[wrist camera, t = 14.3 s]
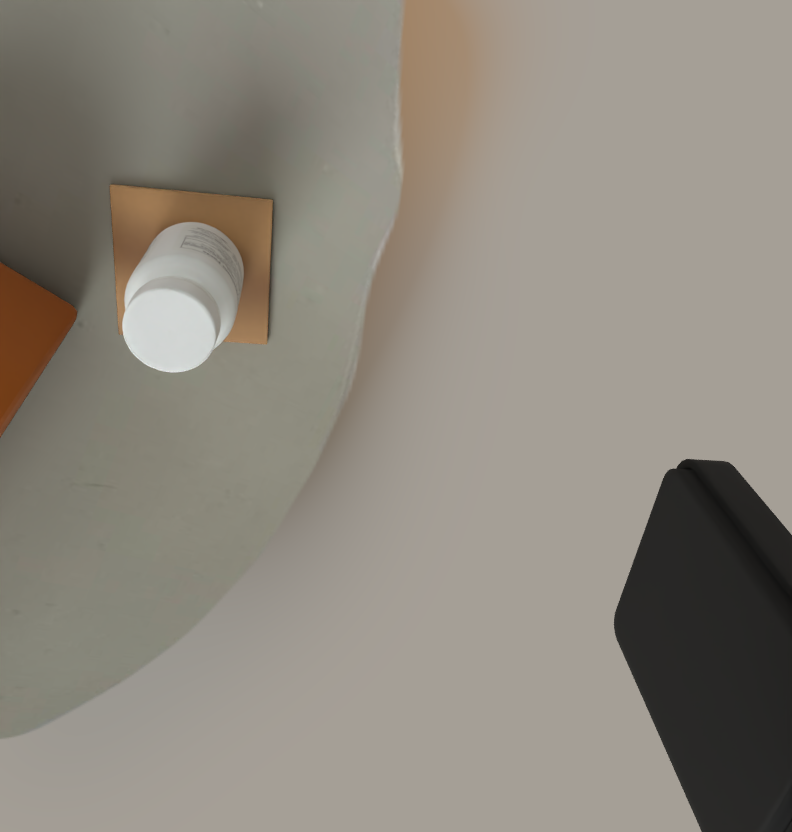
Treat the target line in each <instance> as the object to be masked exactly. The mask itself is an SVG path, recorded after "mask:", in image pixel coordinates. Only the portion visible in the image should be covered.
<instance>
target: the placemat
mask: <svg viewBox="0 0 792 832" xmlns="http://www.w3.org/2000/svg"><path fill="white" fill-rule="evenodd" d="M110 200H111V216H112V232H113V249H114V265H115V281H116V297H117V313H118V329H119V335H123V329H122V321H123V316H124V313H125V302H124V297H125V290H126V286H127V283H128V281H129V279H130V277H131V275H132V273H133V271H134V270H135V268H136V267H137V265H138V264H139V262H140V261H141V259H142V258H143V256H144V254H145V253H146V251H147V249H148V248H149V245H150V244H151V243H152V241H153V240H154V239H155V238H156V237H157V235H158V234H160V233H161V232H162V231H163V230H165V229H166V228H168V227H170V226H173V225H175V224H179V223H184V222H198V223H204V224H207V225H209V226H212V227H214V228H216V229H218V230H219V231H221V232H222V233H224V234H225V235H226V236H227V237H228V238H229V239H230V240H231V241H232V242H233V243H234V245H235V246H236V248H237V249H238V251H239V253H240V256H241V258H242V262H243V267H244V278H243V286H242V290H241V296H240V300H239V305H238V310H237V314H236V318H235V321H234V324H233V327H232V329H231V331H230V333H229V334H228V336H227V337H226V338H225V339H224V342H239V343H254V344H267V338H268V313H269V288H270V263H271V238H272V213H273V200H272V199H262V198H251V197H241V196H230V195H220V194H209V193H199V192H188V191H178V190H167V189H157V188H147V187H136V186H126V185H115V184H111V185H110Z"/></svg>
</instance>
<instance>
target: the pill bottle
mask: <svg viewBox="0 0 792 832" xmlns="http://www.w3.org/2000/svg"><path fill="white" fill-rule="evenodd" d="M243 278H244V267H243V262H242V258H241V256H240V253H239V251H238V249H237V248H236V246H235V245H234V243H233V242H232V241H231V240H230V239H229V238H228V237H227V236H226V235H225V234H224V233H222V232H221V231H219V230H218V229H216V228H214V227H212V226H209V225H207V224H204V223H198V222H184V223H179V224H175V225H173V226H170V227H168V228H166V229H165V230H163V231H162V232H161V233H160V234H158V235H157V237H156V238H155V239H154V240H153V241H152V243H151V244H150V245H149V248H148V249H147V251H146V253H145V254H144V256H143V258H142V259H141V261H140V262H139V264H138V265H137V267H136V268H135V270H134V271H133V273H132V275H131V277H130V279H129V281H128V283H127V286H126V290H125V297H124V302H125V313H124V316H123V321H122V329H123V335H124V339H125V342H126V343H127V345H128V347H129V349H130V350H131V352H132V353H133V354H134V355H135V356H136V357H137V358H138V359H139V360H140V361H141V362H143V363H144V364H146V365H148V366H150V367H152V368H154V369H157V370H160V371H164V372H183V371H187V370H190V369H193V368H195V367H197V366H199V365H200V364H202V363H203V362H204V361H205V360H206V359H207V358H208V357H209V356H210V354H211V353H212V351H213V349H214V348H216V347H217V346H218V345H219V344H221V343H222V342H223V341H224V339H225V338H226V337H227V336H228V334H229V333H230V331H231V329H232V327H233V324H234V321H235V318H236V314H237V310H238V305H239V300H240V296H241V290H242V286H243Z"/></svg>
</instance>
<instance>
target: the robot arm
mask: <svg viewBox="0 0 792 832" xmlns="http://www.w3.org/2000/svg"><path fill="white" fill-rule="evenodd" d="M614 629H615V635H616V638H617V641H618V643H619V645H620V648H621V650H622V652H623V654H624V657H625V659H626V661H627V663H628V666H629V668H630V670H631V672H632V675H633V677H634V679H635V682H636V684H637V686H638V688H639V691H640V693H641V695H642V697H643V699H644V701H645V704H646V706H647V708H648V711H649V713H650V715H651V718H652V720H653V722H654V724H655V727H656V729H657V731H658V733H659V736H660V738H661V740H662V742H663V745H664V747H665V749H666V752H667V754H668V756H669V758H670V761H671V763H672V765H673V767H674V770H675V772H676V774H677V776H678V779H679V781H680V783H681V786H682V788H683V790H684V792H685V794H686V797H687V799H688V801H689V804H690V806H691V808H692V810H693V813H694V815H695V817H696V819H697V822H698V824H699V826H700V829H701V831H702V832H792V535H791V534H790V533H789V531H788V530H787V529H786V528H785V527H784V525H783V524H782V523H781V522H780V521H779V519H778V518H777V517H776V516H775V515H774V513H773V512H772V511H771V510H770V509H769V508H768V506H767V505H766V504H765V503H764V502H763V501H762V499H761V498H760V497H759V496H758V494H757V493H756V492H755V491H754V490H753V489H752V487H750V485H749V484H748V483H747V482H746V480H744V478H743V477H742V476H741V474H740V473H739V472H738V471H737V470H736V468H735V467H734V466H733V465H731V464H730V463H729V462H724V461H711V460H710V461H709V460H694V459H686V460H684V461H682V462H681V463H680V464H679V465H678V466H677V468H676V469H671V470H669V471H668V472H667V473H666V474H665V476H664V478H663V481H662V484H661V487H660V489H659V492H658V495H657V498H656V501H655V503H654V506H653V509H652V511H651V514H650V517H649V520H648V523H647V526H646V528H645V531H644V534H643V537H642V539H641V542H640V545H639V548H638V550H637V553H636V556H635V559H634V562H633V565H632V567H631V570H630V573H629V576H628V579H627V581H626V584H625V587H624V589H623V592H622V595H621V598H620V601H619V603H618V606H617V609H616V612H615V618H614Z"/></svg>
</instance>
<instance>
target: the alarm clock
mask: <svg viewBox="0 0 792 832" xmlns="http://www.w3.org/2000/svg"><path fill="white" fill-rule="evenodd" d="M76 316H77V311H76V309H75V308H74V307H73V306H72V305H71V304H69V303H67V302H66V301H64V300H62V299H61V298H59V297H57V296H56V295H54V294H52V293H51V292H49V291H47V290H46V289H44V288H42V287H41V286H39V285H37V284H36V283H34V282H32V281H31V280H29V279H27V278H26V277H24V276H22V275H21V274H19V273H17V272H16V271H14V270H12V269H11V268H9V267H7V266H6V265H4V264H2V263H1V262H0V437H1V435H2V434H3V432H4V431H5V429H6V428H7V426H8V425H9V423H10V421H11V420H12V418H13V417H14V415H15V414H16V412H17V411H18V409H19V408H20V406H21V404H22V403H23V401H24V400H25V398H26V397H27V395H28V394H29V392H30V390H31V389H32V387H33V386H34V384H35V383H36V381H37V380H38V378H39V376H40V375H41V373H42V372H43V370H44V369H45V367H46V366H47V364H48V363H49V361H50V359H51V358H52V356H53V355H54V353H55V352H56V350H57V349H58V347H59V345H60V344H61V342H62V341H63V339H64V338H65V336H66V335H67V333H68V331H69V330H70V328H71V327H72V325H73V323H74V322H75V320H76Z"/></svg>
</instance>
